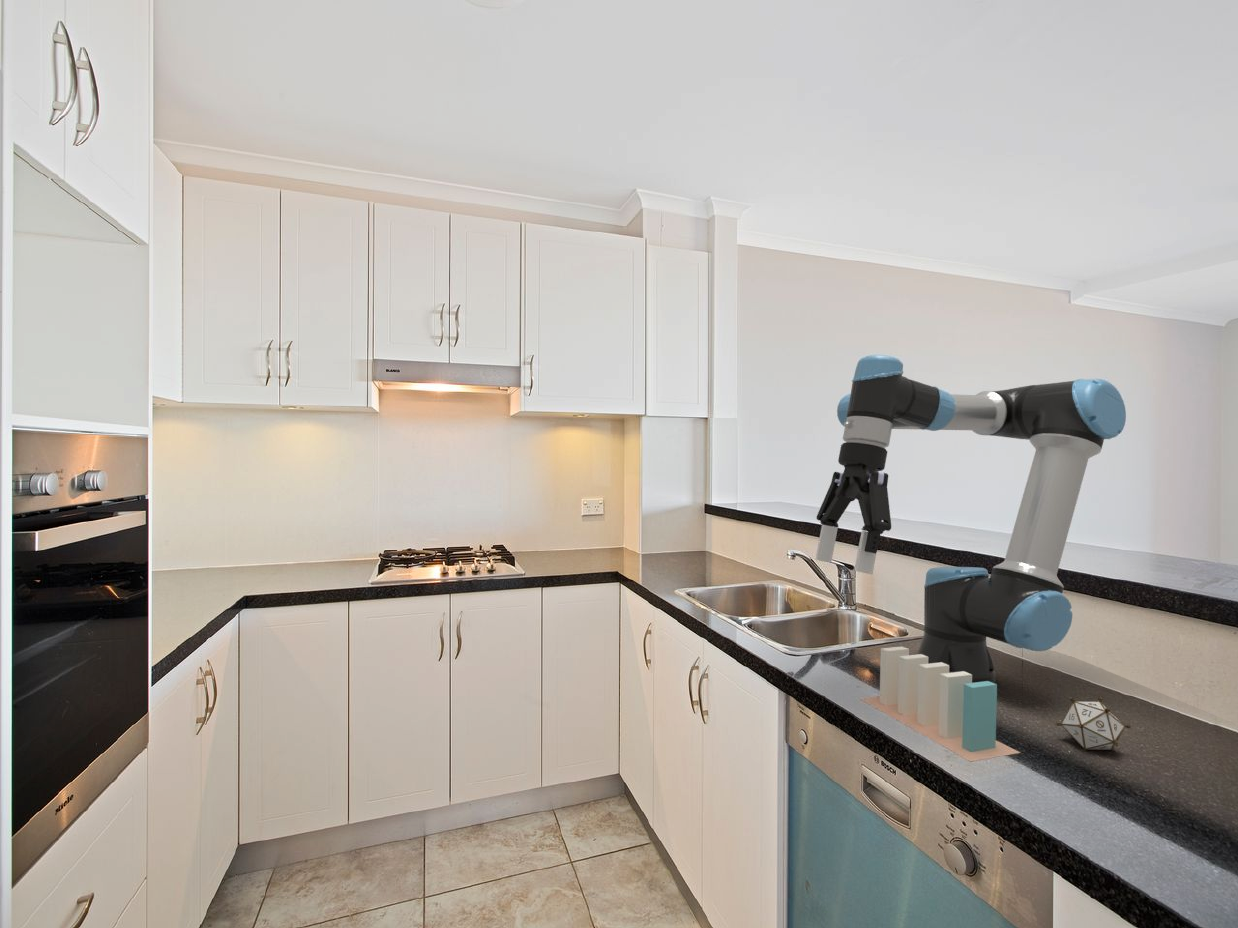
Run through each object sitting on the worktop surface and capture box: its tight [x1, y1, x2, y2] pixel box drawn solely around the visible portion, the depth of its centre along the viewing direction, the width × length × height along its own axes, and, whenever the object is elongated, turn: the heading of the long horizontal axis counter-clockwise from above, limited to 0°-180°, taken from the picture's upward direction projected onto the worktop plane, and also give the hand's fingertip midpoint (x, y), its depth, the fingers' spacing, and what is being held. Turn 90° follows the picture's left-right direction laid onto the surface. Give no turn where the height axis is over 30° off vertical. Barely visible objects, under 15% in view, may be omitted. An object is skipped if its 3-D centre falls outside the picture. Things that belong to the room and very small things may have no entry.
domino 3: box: [917, 662, 949, 727], centre depth 102 cm, size 2×5×10 cm, turn 108°
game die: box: [1054, 696, 1133, 753], centre depth 95 cm, size 9×8×10 cm
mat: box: [860, 695, 1021, 763], centre depth 102 cm, size 24×10×1 cm, turn 18°
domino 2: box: [898, 653, 928, 716], centre depth 106 cm, size 2×5×10 cm, turn 108°
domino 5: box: [962, 681, 998, 752], centre depth 94 cm, size 2×5×10 cm, turn 108°
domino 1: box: [879, 646, 910, 705], centre depth 111 cm, size 2×5×10 cm, turn 108°
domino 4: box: [939, 671, 972, 739], centre depth 98 cm, size 2×5×10 cm, turn 108°
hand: (841, 566), depth 102 cm, fingers open, 13 cm apart
